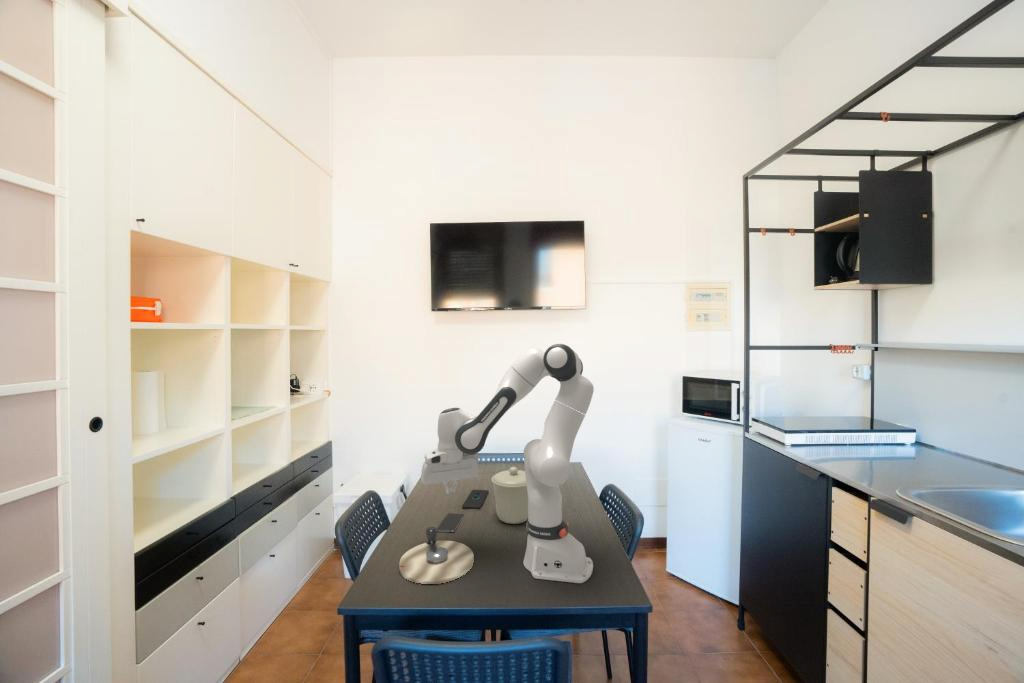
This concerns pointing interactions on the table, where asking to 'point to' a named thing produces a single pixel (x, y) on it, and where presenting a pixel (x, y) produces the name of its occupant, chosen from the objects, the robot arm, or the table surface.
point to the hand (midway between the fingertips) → (450, 492)
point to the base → (428, 573)
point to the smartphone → (450, 522)
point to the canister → (511, 495)
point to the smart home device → (475, 499)
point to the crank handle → (434, 547)
